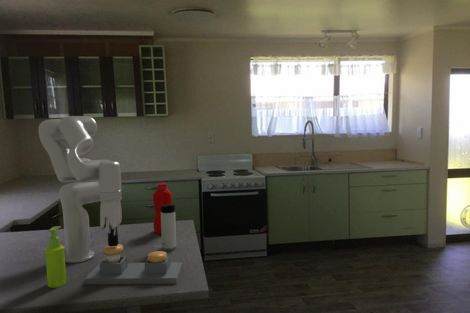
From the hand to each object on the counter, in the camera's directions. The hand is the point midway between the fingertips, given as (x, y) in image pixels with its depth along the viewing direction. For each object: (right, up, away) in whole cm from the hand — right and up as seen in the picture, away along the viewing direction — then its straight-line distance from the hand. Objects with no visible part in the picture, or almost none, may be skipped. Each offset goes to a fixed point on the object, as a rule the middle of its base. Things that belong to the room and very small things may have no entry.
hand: (113, 245), depth 133 cm
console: (+8, -11, +1) cm, 14 cm away
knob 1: (0, -6, +1) cm, 7 cm away
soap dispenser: (-18, -12, -5) cm, 22 cm away
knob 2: (+16, -9, +1) cm, 18 cm away
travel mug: (+15, -9, +29) cm, 34 cm away
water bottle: (+7, -6, +53) cm, 54 cm away
